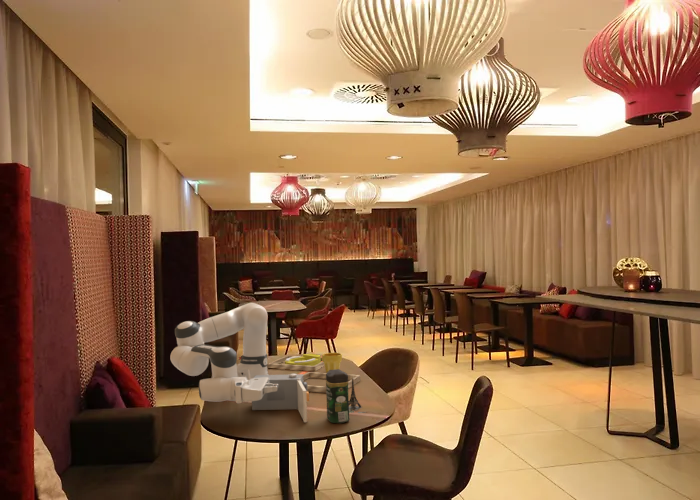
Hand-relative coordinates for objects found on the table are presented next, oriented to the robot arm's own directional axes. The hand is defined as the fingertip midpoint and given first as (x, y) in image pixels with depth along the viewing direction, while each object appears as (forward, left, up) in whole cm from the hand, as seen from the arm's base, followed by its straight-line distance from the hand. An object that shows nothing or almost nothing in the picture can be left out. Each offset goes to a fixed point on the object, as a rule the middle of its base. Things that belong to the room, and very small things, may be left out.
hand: (277, 387), depth 202 cm
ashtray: (-35, +92, -13) cm, 99 cm away
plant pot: (-11, +79, -12) cm, 80 cm away
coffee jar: (+22, +6, -12) cm, 26 cm away
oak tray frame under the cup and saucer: (-5, +54, -12) cm, 55 cm away
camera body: (-8, +16, -12) cm, 22 cm away
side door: (+7, +7, -12) cm, 15 cm away
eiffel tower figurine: (+21, +22, -13) cm, 33 cm away
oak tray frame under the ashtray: (-36, +92, -12) cm, 99 cm away
